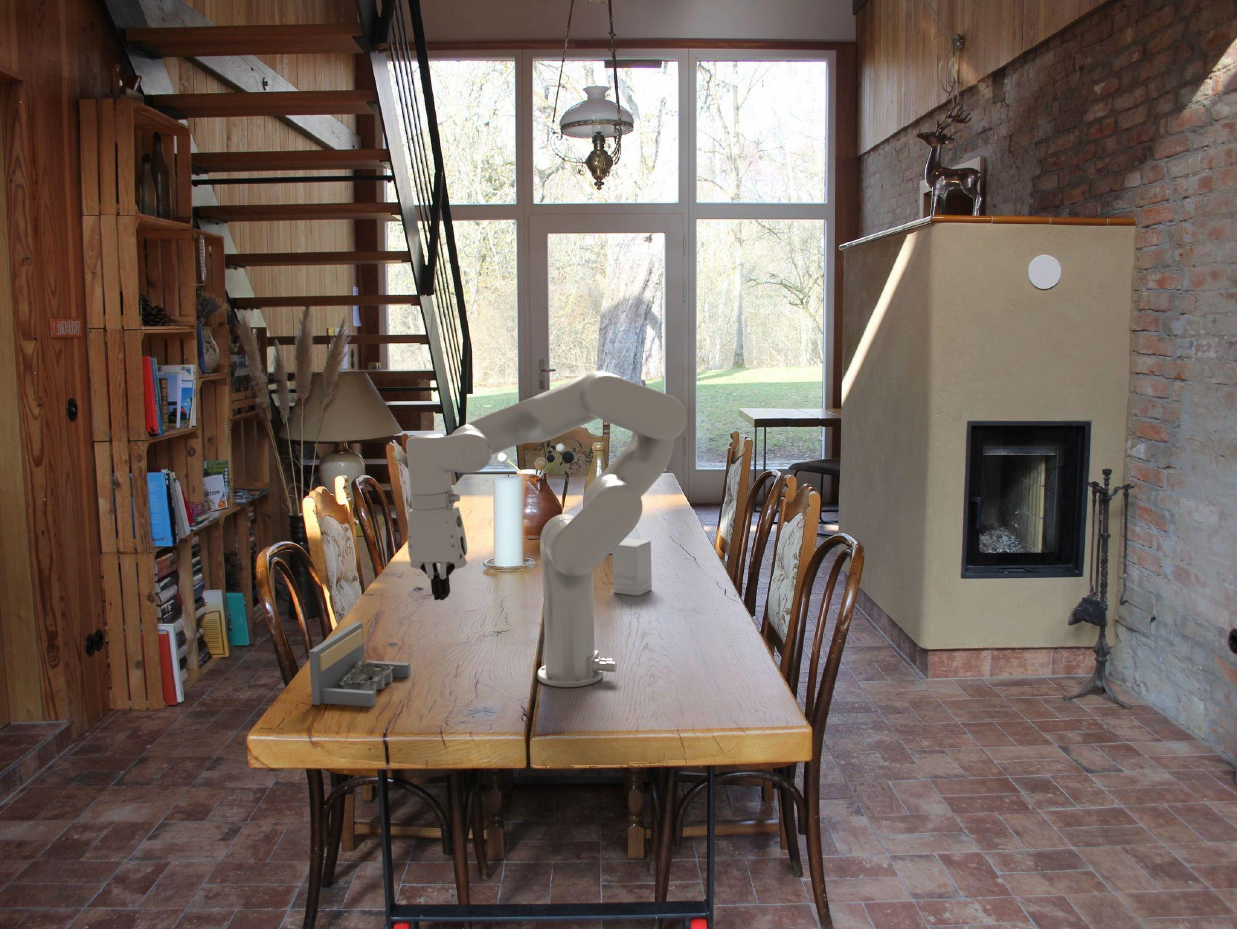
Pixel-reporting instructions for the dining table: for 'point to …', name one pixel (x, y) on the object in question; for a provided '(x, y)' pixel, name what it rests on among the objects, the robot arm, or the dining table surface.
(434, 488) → the robot arm
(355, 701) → the display stand
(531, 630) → the dining table surface
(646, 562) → the supplement box
